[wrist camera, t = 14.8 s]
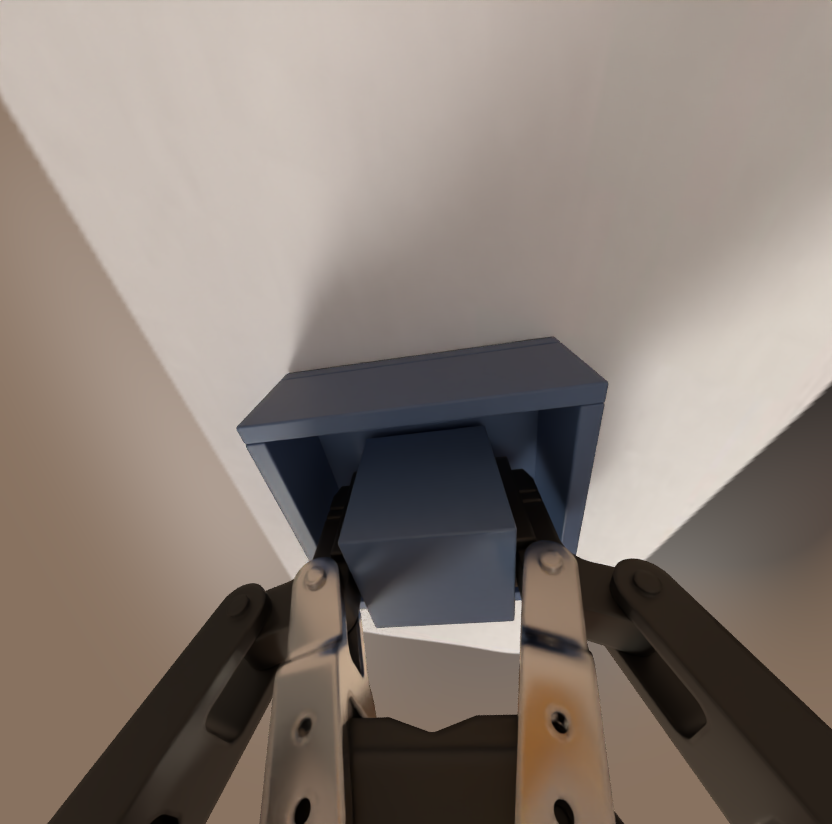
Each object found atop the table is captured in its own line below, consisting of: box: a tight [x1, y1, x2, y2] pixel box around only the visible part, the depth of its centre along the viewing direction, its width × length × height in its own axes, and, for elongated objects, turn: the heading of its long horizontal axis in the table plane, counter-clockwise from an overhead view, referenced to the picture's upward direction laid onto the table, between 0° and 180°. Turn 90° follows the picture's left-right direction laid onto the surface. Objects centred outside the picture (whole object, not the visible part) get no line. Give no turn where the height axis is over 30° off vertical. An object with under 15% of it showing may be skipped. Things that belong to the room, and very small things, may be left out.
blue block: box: [338, 426, 517, 628], centre depth 10 cm, size 4×4×4 cm
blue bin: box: [237, 337, 608, 609], centre depth 12 cm, size 10×10×4 cm
